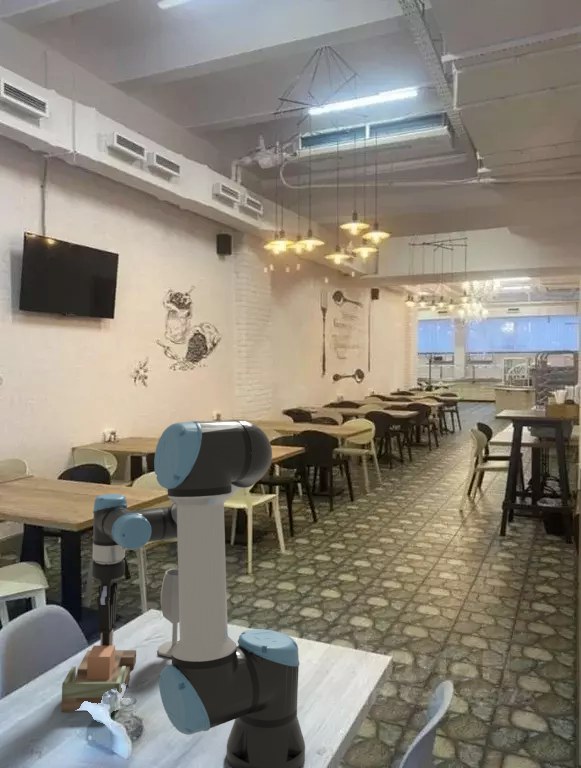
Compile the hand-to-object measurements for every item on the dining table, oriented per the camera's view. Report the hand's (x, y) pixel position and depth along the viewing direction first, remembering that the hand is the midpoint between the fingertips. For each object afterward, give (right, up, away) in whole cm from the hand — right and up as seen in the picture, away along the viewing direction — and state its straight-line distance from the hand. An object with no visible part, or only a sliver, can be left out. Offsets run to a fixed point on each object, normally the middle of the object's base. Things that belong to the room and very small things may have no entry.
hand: (106, 657), depth 150 cm
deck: (0, -5, -5) cm, 6 cm away
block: (0, -2, -5) cm, 5 cm away
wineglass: (+14, -5, +14) cm, 20 cm away
